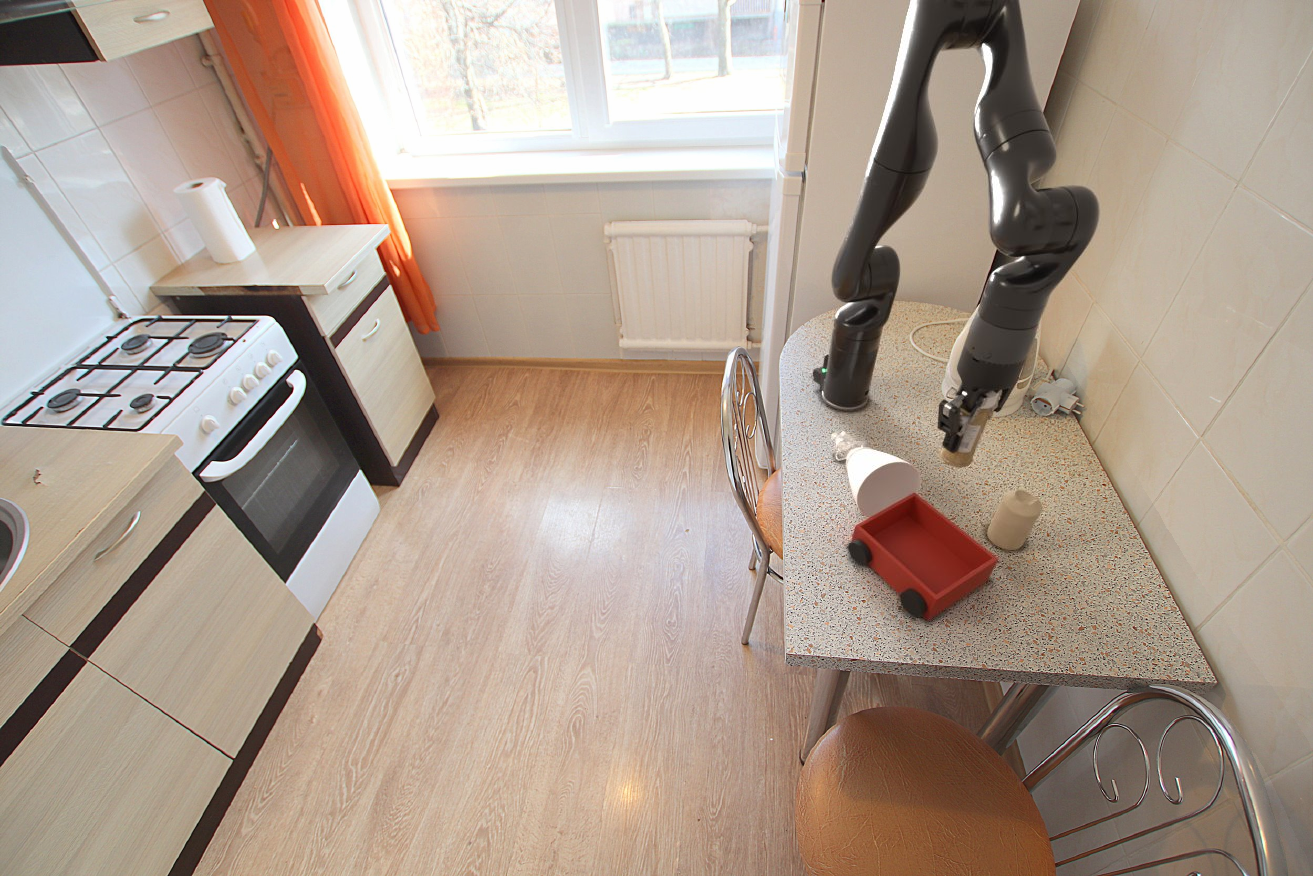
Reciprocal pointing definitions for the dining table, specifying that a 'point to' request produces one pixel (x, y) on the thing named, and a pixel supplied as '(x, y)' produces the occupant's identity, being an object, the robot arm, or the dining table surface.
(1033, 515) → the candle
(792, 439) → the dining table surface
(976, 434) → the sprinkles bottle
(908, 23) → the robot arm
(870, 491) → the rocket engine
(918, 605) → the cart wheels
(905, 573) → the cart
